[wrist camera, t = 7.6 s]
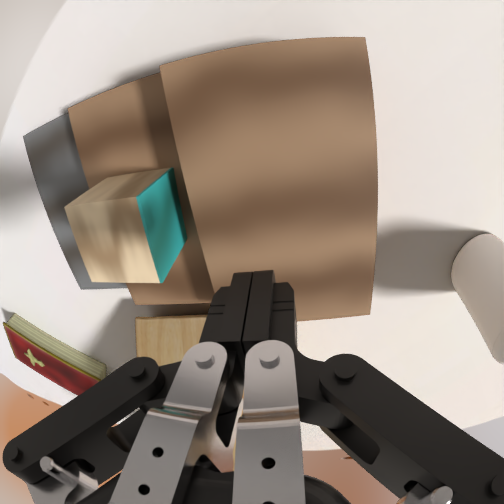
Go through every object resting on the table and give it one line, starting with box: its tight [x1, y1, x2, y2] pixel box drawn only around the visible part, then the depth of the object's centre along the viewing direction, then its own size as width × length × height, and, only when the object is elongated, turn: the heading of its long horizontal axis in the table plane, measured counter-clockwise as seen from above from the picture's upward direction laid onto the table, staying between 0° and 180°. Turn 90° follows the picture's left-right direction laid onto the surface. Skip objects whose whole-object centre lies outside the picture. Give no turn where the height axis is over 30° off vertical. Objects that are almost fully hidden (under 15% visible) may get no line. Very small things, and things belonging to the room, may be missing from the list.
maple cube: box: [64, 167, 188, 283], centre depth 20 cm, size 6×6×6 cm
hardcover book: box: [3, 313, 106, 396], centre depth 42 cm, size 12×21×4 cm, turn 67°
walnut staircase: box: [23, 37, 378, 321], centre depth 23 cm, size 20×32×6 cm, turn 99°
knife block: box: [135, 315, 244, 471], centre depth 28 cm, size 11×35×31 cm, turn 12°
